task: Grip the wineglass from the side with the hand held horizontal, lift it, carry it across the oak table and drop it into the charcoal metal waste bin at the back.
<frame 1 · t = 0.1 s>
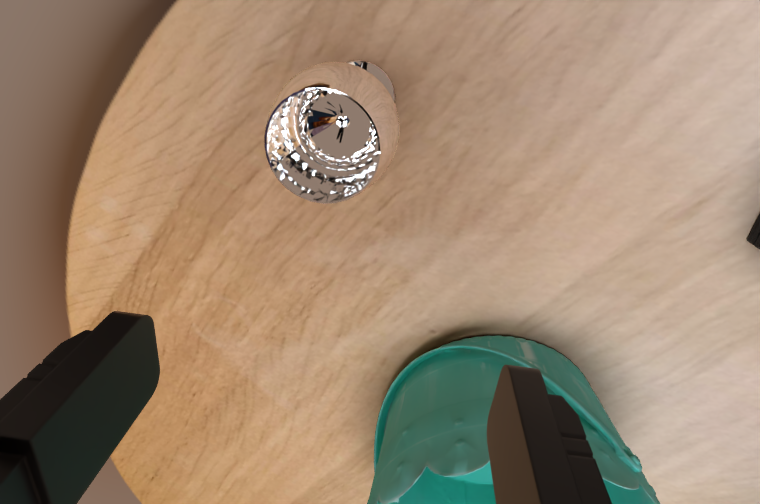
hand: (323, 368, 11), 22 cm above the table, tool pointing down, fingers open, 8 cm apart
wineglass: (359, 98, 30), on the table
basket: (487, 412, 40), on the table
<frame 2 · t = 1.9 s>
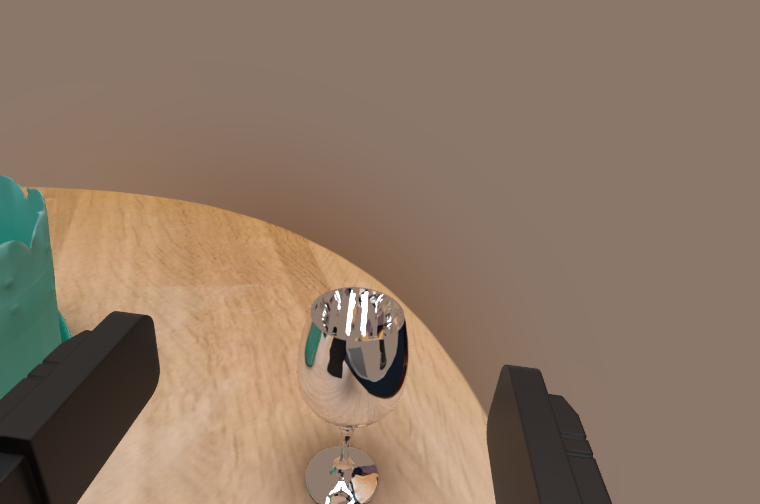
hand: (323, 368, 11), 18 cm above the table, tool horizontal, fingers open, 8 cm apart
wineglass: (342, 478, 29), on the table
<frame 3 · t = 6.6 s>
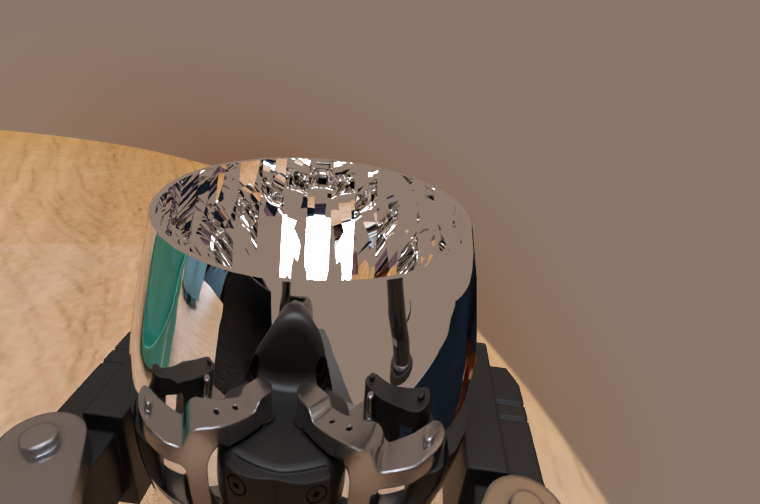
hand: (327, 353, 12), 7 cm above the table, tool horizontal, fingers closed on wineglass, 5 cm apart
when the fingers open (17 cm above the table, at t = 16.4 s): wineglass drops 8 cm, resting on waste bin.
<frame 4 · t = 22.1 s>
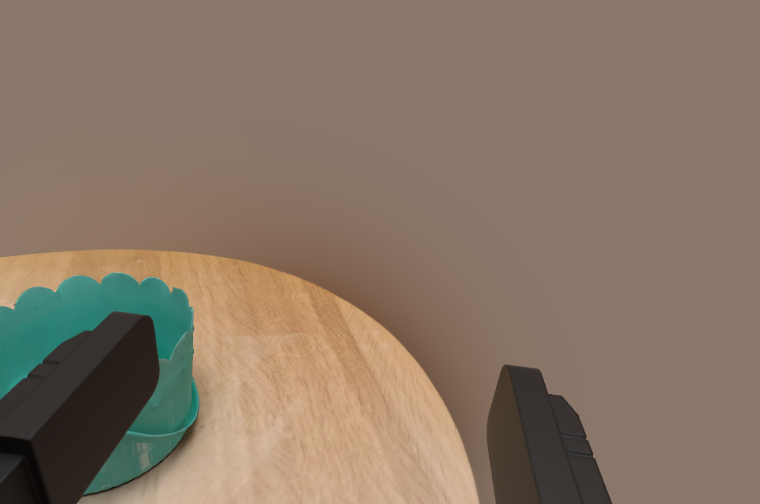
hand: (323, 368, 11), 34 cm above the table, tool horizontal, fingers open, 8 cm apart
basket: (108, 425, 50), on the table
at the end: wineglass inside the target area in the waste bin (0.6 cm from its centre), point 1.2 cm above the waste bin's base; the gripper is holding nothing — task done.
